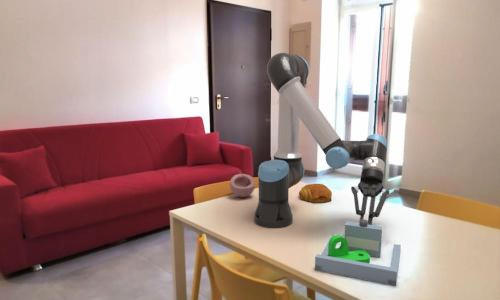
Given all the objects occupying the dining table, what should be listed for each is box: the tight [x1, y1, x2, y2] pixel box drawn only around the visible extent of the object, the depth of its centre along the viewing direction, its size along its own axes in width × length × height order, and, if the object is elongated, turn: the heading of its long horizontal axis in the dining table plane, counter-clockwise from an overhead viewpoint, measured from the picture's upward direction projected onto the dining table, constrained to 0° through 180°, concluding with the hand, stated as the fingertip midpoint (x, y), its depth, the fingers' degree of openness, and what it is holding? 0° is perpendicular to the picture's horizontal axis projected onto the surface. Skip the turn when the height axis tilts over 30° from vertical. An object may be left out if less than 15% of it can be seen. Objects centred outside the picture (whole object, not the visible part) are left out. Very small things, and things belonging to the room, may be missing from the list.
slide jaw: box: [343, 219, 383, 258], centre depth 118 cm, size 11×3×11 cm, turn 66°
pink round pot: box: [229, 173, 256, 198], centre depth 178 cm, size 12×12×11 cm
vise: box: [314, 234, 401, 286], centre depth 114 cm, size 22×24×4 cm
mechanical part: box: [328, 234, 371, 264], centre depth 112 cm, size 12×6×8 cm, turn 103°
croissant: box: [298, 183, 333, 204], centre depth 174 cm, size 14×16×8 cm
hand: (364, 234), depth 120 cm, fingers closed
